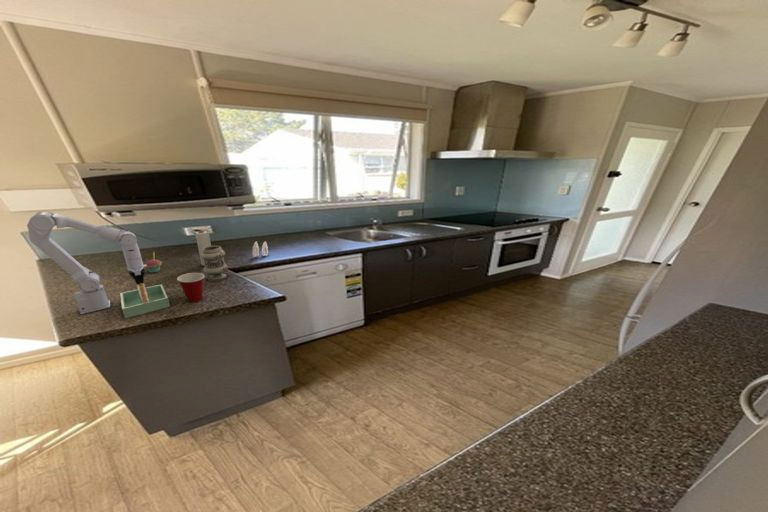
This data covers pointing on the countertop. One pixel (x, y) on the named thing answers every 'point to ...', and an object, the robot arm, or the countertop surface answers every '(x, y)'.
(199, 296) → the plastic cup
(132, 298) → the bin
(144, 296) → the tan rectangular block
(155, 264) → the cupcake
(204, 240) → the paper towel roll
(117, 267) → the countertop surface
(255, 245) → the shaker set
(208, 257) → the apothecary jar
